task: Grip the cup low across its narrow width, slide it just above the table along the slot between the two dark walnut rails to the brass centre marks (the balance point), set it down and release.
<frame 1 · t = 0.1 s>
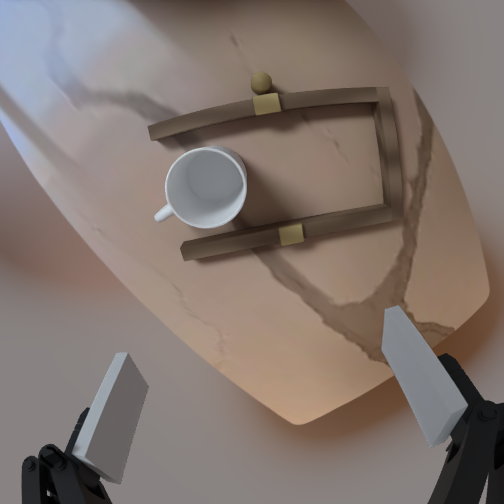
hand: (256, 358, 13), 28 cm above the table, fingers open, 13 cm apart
cup: (204, 183, 37), on the table
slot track: (277, 168, 36), on the table
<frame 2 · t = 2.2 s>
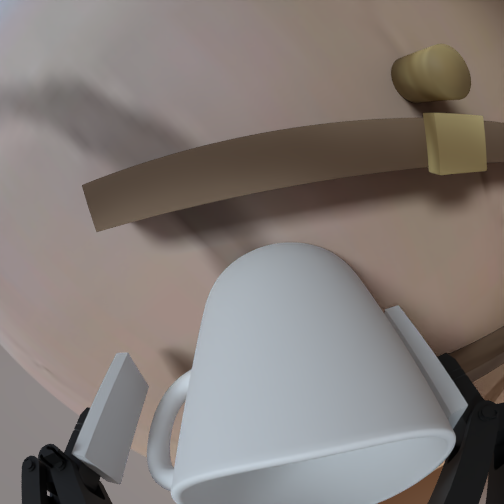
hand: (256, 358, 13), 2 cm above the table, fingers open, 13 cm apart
cup: (254, 323, 15), on the table
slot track: (421, 287, 14), on the table
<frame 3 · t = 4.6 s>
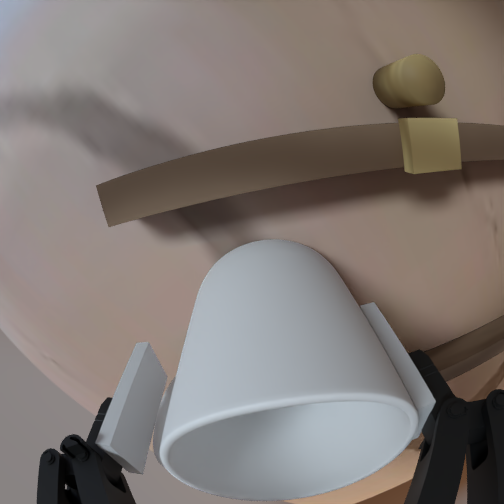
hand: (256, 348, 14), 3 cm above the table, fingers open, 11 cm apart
cup: (245, 317, 17), on the table, touching gripper
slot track: (406, 280, 16), on the table
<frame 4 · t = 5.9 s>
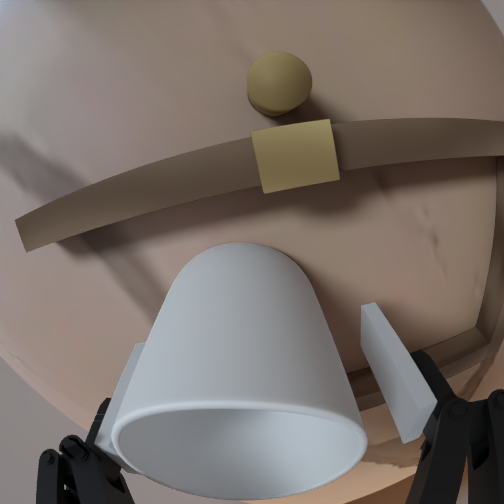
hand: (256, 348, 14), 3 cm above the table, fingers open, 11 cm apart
cup: (225, 324, 17), on the table, touching gripper
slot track: (310, 300, 16), on the table
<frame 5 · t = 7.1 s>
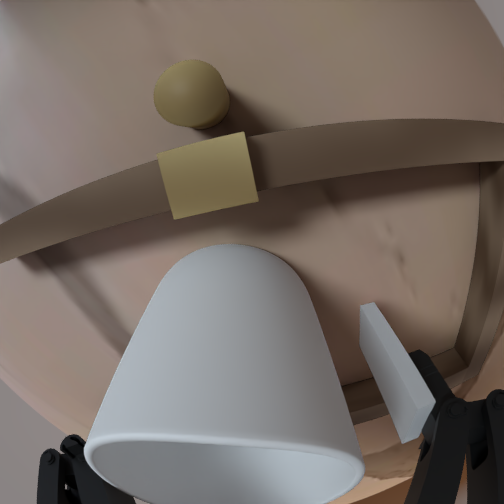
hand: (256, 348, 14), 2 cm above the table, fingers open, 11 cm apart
cup: (220, 332, 16), on the table, touching gripper
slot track: (254, 322, 15), on the table
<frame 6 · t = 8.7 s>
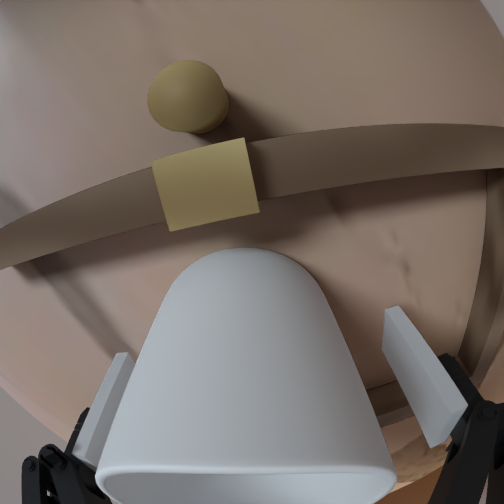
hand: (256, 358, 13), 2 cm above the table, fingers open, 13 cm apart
cup: (234, 340, 15), on the table
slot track: (255, 334, 15), on the table
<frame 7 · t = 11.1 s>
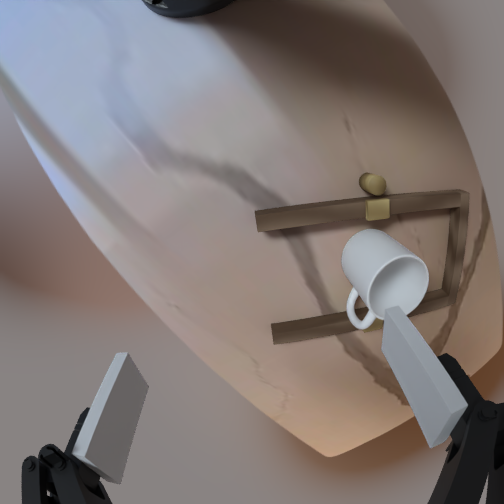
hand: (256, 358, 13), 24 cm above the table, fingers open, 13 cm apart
cup: (360, 266, 38), on the table
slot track: (368, 262, 38), on the table
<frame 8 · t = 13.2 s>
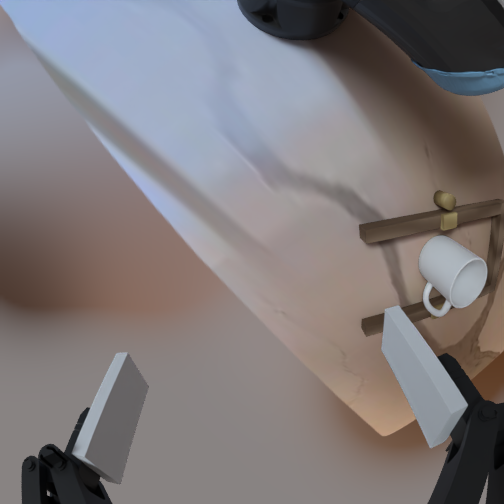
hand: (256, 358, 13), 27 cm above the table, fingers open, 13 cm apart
cup: (430, 265, 42), on the table
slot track: (436, 262, 41), on the table
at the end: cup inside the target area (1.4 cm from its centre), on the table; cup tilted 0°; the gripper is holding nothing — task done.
